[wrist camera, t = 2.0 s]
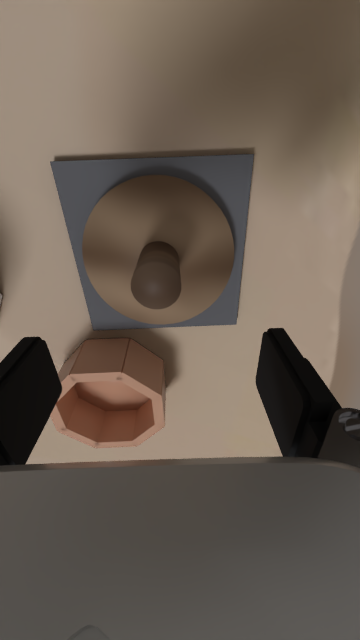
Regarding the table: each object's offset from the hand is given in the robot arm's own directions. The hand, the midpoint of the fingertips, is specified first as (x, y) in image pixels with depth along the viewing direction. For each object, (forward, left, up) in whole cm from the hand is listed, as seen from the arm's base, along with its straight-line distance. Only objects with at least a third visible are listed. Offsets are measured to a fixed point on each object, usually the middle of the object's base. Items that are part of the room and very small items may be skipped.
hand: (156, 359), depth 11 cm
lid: (-1, 0, -12) cm, 12 cm away
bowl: (+13, -6, -13) cm, 20 cm away
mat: (-1, 0, -13) cm, 13 cm away
